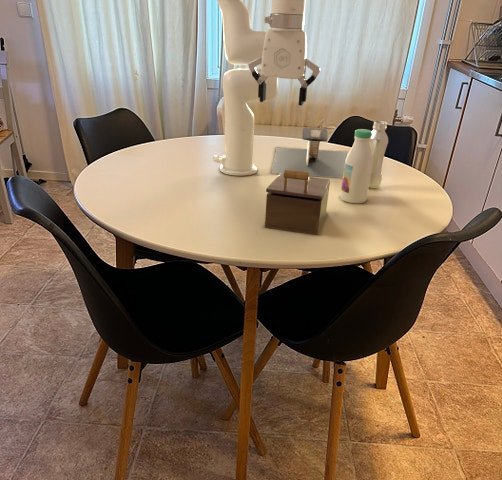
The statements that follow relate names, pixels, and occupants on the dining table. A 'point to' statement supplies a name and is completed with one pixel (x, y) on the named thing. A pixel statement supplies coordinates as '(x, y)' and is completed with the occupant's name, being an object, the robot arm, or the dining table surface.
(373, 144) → the plastic bottle
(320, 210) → the tea box
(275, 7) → the robot arm
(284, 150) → the architectural model
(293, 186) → the tea box lid
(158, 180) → the dining table surface
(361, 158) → the milk bottle
